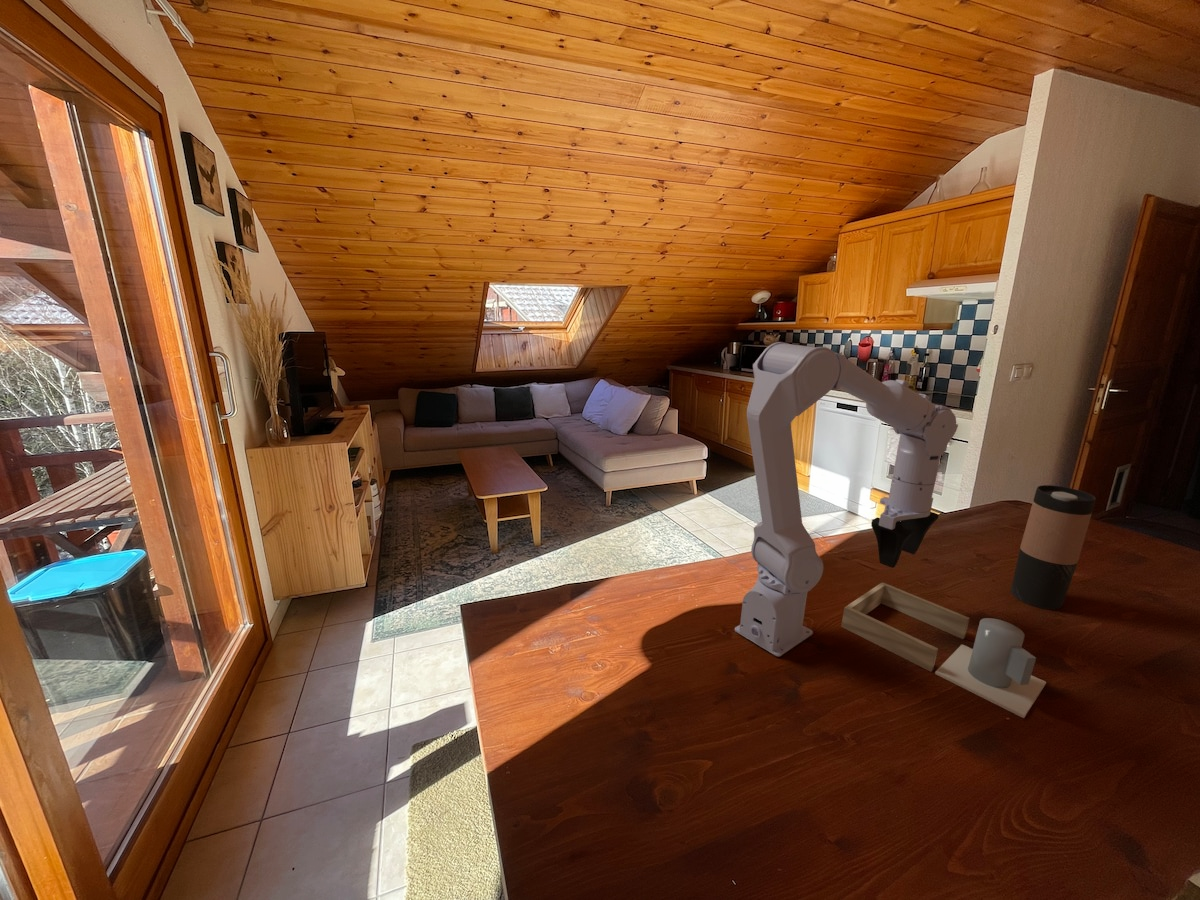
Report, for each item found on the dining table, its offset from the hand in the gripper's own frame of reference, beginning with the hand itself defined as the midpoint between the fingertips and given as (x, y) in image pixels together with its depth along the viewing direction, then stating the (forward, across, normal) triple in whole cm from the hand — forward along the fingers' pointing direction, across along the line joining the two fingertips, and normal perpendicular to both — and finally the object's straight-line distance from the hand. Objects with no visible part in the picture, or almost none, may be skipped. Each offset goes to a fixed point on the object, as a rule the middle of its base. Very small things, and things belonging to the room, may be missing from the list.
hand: (897, 558), depth 83 cm
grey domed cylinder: (+9, +6, +17) cm, 20 cm away
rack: (+10, +4, +4) cm, 11 cm away
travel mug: (+10, -26, +14) cm, 31 cm away
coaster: (+10, +6, +16) cm, 20 cm away
